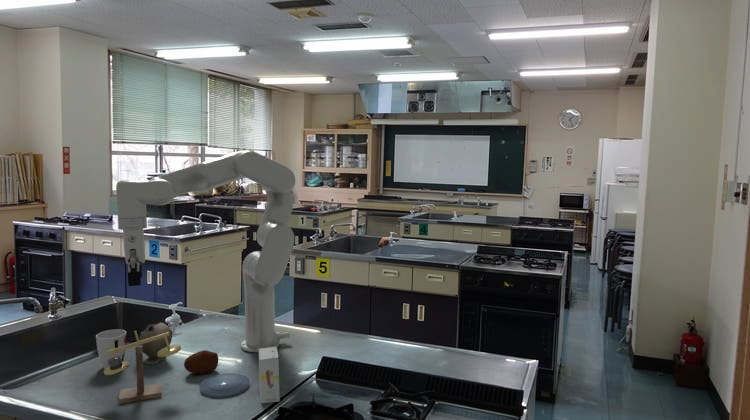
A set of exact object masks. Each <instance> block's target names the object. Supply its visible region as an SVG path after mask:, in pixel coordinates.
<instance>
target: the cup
mask: <svg viewBox="0 0 750 420" xmlns="http://www.w3.org/2000/svg"><path fill="white" fill-rule="evenodd" d="M95 339H96V349H97V353H98V358H99V362H100V364H101V365H102V368H103V370H105V369H106V368H107V367H109V364H108V361H107V360H108V359H110V358H112V355H111V354H109V355H108V354H107V351H109V350H112V349H115V348H118V347H121V346H125V345H127V331H126V330H124V329H121V328H120V329H118V328H117V329H107V330H104V331H101V332H99V333H97V334H96V335H95ZM125 355H126V349H125V350H122V351H119V352H116V353H114V356H120V358H121V361H122V362H123V361H124V360H125Z"/></svg>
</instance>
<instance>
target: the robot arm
mask: <svg viewBox="0 0 750 420" xmlns="http://www.w3.org/2000/svg"><path fill="white" fill-rule="evenodd" d="M242 179H247V180H250V181H252V182H255V183H256V184H258V185H261V187H262V188H263V190H264V191H265V194H266V206H265V209H264V212H263V214H262V217H261V221H260V223H259V226H258V228H257V231H256V237H255V238H256V241H257V243H258V245H259V246H261V247H262V248H261V250H258V251H257V250H255V251H252V252H250V253H249V254H247V255H246V257H244V260H243V263H242V266H241V268H242V277H243V278H242V279H243V286H244V318H245V323H244V325H245V326H244V327H245V339H244V340H242V341H241V342H240V348H241V350H243V351H245V352H248V353H249V352H250V353H259V349H261V348H269V347H277V348H279V346H280V343H281V342H280V341H281V339H289V338H290V333H289V331H287V332H284V330H282V331H276V328H275V327H276V325H275V324H276V322H275V321H276V320H275V319H276V317H275V314H276V312H275V310H276V309H275V287H274V286H276V285H277V284H278V283H279V282H280V281H281V280H282V278H283V276H284V274H285V273H286V269H287V267H288V266H287V265H288V264H289V260H290V257H291V255H292V252H293V248H294V245H295V234H294V231H293V230H292V228H291V227H290V226H288V225H289V223H290V219H291V216H292V215H291V214H292V212H293V207H294V197H293V193H292V190H293V188H294V187H295V184H296V176H295V174H294V172H293V170H292V169H290V167H287V166H286V165H283V164H281V163H279V162H277V161H275V160H273V159H271V158H268V157H267V156H264V155H263V154H260V153H259V152H255V151H253V150H237V151H235V152H232V153H228V154H225V155H222V156H220V157H216V158H213V159H209V160H206V161H203V162H200V163H196V164H193V165H191V166H189V167H185V168H181V169H177V170H175V171H172V172H171V171H170V172H168V173H165V174H161V175H159V176H155V177H153V178H150V179H149V180H146V181H142V180H138V179H126V180H125V179H123V180H120V181H117V183H116V184H115V187H116V188H115V189H116V191H115V193H116V209H117V212H116V213H117V227H118V228H117V229H118V230H119V231H122V237H123V248H124V249H123V250H124V259H125V264H126V265H127V269H128V270H127V286H128V287H136V286H141V285H142V280H141V279H142V277H143V269H142V268H143V267H142V266H143V265H142V264H144V263H146V262H145V261H146V249H145V247H146V245H145V231H144V229H147V228H148V222H147V221H148V219H147V205H153V206H165V205H168V204H169V203H171V202H173V200H174V198H175V197H177V196H182V195H184V194H188V193H193V192H203V191H209V190H214V189H217V188H220V187H222V186H225V185H227V184H230V183H233V182H237V181H239V180H242ZM141 263H142V264H141Z"/></svg>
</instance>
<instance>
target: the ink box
mask: <svg viewBox="0 0 750 420" xmlns="http://www.w3.org/2000/svg"><path fill="white" fill-rule="evenodd" d="M258 382H259V383H258V386H259V388H258V389H259V390H258V391H259V397H260V398H259V399H260V403H261V404H267V403H269V404H270V403H276V402H280V401H281V399H280V367H279V353H278V347H269V348H261V349H259V352H258Z"/></svg>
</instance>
